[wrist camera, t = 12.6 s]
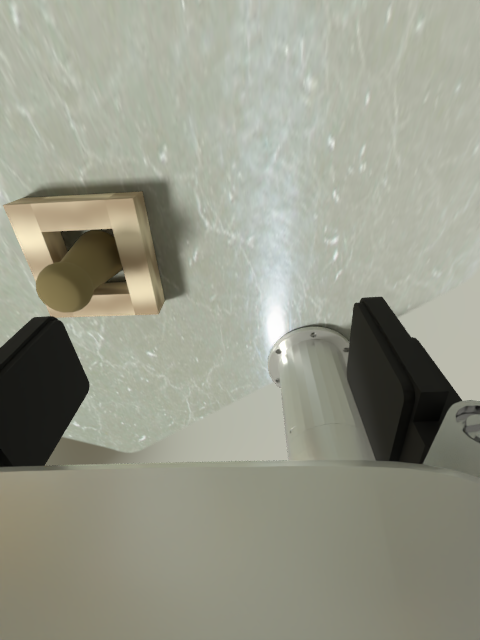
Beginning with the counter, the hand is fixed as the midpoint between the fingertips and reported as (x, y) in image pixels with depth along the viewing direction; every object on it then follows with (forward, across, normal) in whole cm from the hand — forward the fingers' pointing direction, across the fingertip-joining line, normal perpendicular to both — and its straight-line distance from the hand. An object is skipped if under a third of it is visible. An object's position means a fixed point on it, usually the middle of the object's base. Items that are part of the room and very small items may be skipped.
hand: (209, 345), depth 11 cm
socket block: (+30, +18, +7) cm, 36 cm away
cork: (+30, +18, +7) cm, 36 cm away
